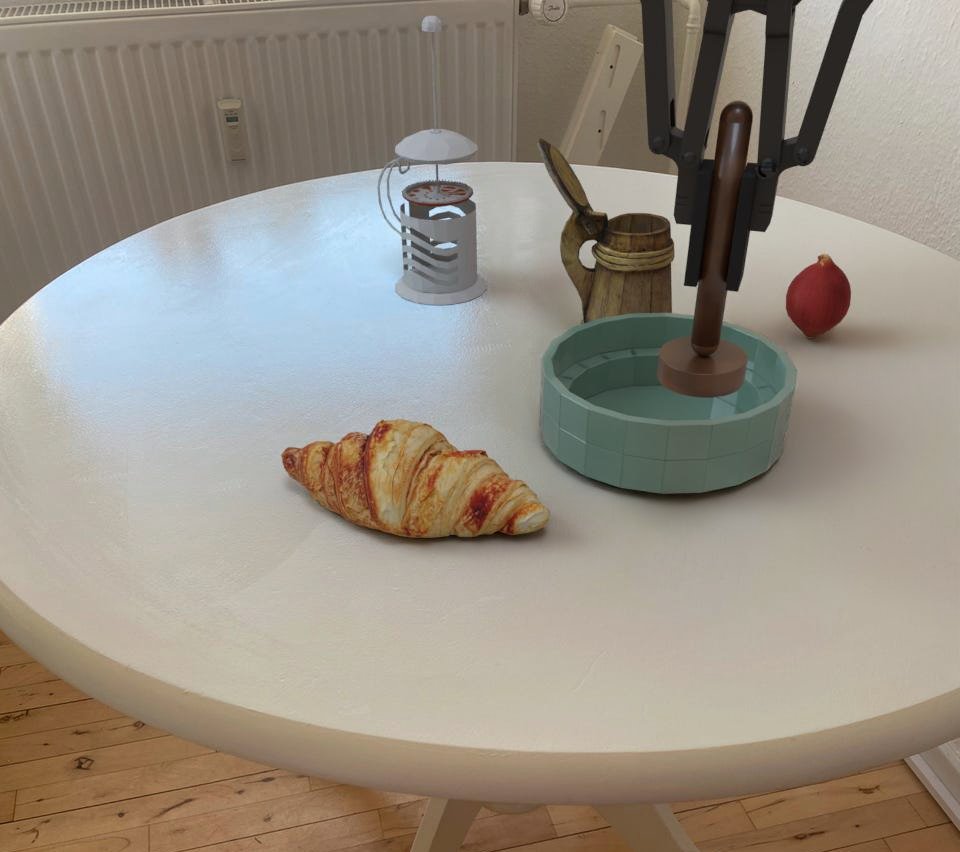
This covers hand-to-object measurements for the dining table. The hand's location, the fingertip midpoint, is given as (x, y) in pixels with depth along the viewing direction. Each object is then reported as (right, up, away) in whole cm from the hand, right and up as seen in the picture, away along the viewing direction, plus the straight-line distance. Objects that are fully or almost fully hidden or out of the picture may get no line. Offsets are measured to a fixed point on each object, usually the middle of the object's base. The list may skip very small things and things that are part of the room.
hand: (713, 279), depth 64 cm
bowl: (+1, -5, +23) cm, 23 cm away
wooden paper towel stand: (0, -5, +4) cm, 6 cm away
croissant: (-19, -13, +15) cm, 27 cm away
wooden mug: (-2, +7, +37) cm, 38 cm away
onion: (+18, +7, +37) cm, 42 cm away
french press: (-19, +16, +48) cm, 54 cm away
